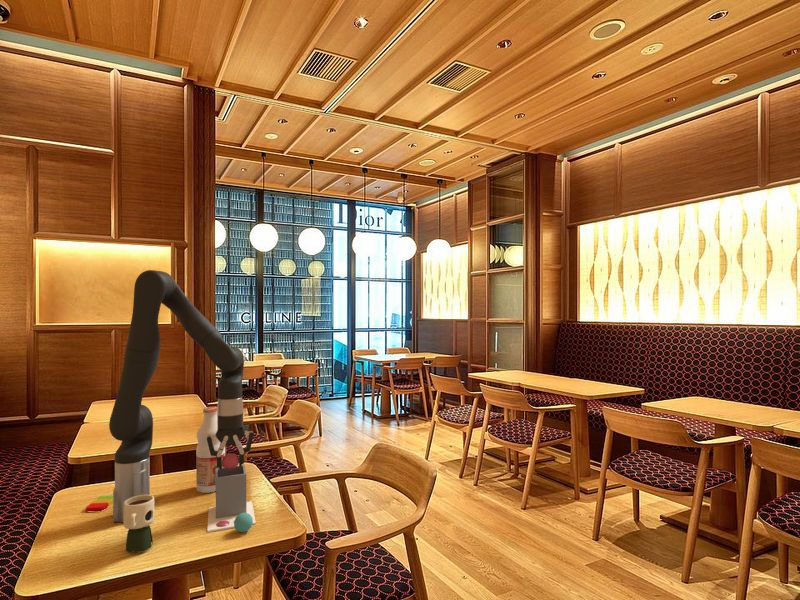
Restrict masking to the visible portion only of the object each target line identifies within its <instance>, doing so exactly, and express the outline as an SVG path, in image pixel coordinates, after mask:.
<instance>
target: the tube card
mask: <svg viewBox="0 0 800 600" xmlns="http://www.w3.org/2000/svg"><path fill="white" fill-rule="evenodd" d="M207 511H208V512H207V513H208V514H207V515H208V516H207V533H211V532H212V533H213V532H218V531H224V530H231V529H235V526H234V521H235V518H236V517H237V516H238V515H239V514H241V513H248V514H250V515H251V517H252V519H253V523H252V526H254V525H256V524H257V523H256V518H255V516H256V515H255V512H254V511H255V510H254V506H253V501H252V500H250V501H247V470H246V465H245V464H242V466H241V467H239V465H237V467H236V468H234V469H232V470H227V469H225V468H222V469H219V468H217V469H216V492H215V506H211V507H208V509H207Z"/></svg>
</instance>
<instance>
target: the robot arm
mask: <svg viewBox="0 0 800 600" xmlns="http://www.w3.org/2000/svg"><path fill="white" fill-rule="evenodd" d="M132 302H133V305H132V314H131V316H132V317H131V320H130V321H131V322H130V325H129V331H128V335H127V336H128V337H127V340H126V346H125V351H124V356H123V364H122V370H121V373H120V379H119V386H118V390H117V395H116V399H115V401H114V404H113V408H112V410H111V414H110V419H109V422H108V423H109V424H108V426H109V433H110V434H111V436H112V437H113V438H114V439H115V440H117V441H121V442H120V445H119V446H118V448H117V450H116V451H115V453H114V487H113V490H112V493H113V503H112V506H113V510H112V511H113V512H112V513H113V514H112V515H113V516H112V519H113V520H112V522H113V523H124V501H126V500H127V499H129V498H131V497H134V496H138V495H151V491H150V488H151V485H150V484H151V482H150V479H151V477H150V474H151V472H150V471H151V470H150V466H151V465H150V464H151V463H150V462H151V461H150V451H151V449H152V446H153V436H154V435H153V433H154V432H153V431H154V417H153V413H152V411H151V410H150V408H148V406H146V405H144V404H142V402H143V397H144V394H145V391H146V390H147V387H148V385H149V384H150V381H151V380H152V378H153V376H154V374H155V372H156V370H157V367H158V363H159V360H160V359H159V358H160V353H161V347H162V343H161V342H162V341H161V333H160V327H159V314H160V311H161V310H160V309H161V305H162V304H163V306H165V307H166V308H167V309H169V310H170V312H172V314H174V316H175V317H176V318H177V319H178V321H179V323H180V325H181V326H182V327H183V329H184V330H185V332H186V333H187V334H188V336H189V337H190V338H191V339H192V340H193V341H194V342H195V343H196V344H197V345H199V347H200V348H202V349H203V350H204V352H205V354H206V355H207V357H208V358H209V359H210V360H211V362H212V363H213V365H214V366H215V367H216V368H218V369H219V370H220V371H221V373H220V374H221V376H220V379H219V382H218V384H217V404H216V405H217V406H216V407H217V432H216V434H214V435H208V436H207V442H208V446H209V450H210V454H211V456H216V457H217V467H219V469H222V455H221V454H222V452H223V450H224V447H225V448H226V447H229V446H236V447H237V450H238V451H239V452H238V458H239V463H238V466H239V467H241V466H242V465H245V464H244V463H245V454H246V453H249V452H251V448H252V443H253V439H254V432H253V430H249V431H247V430H245V428H244V400H243V377H244V376H243V375H244V368H245V356H244V353H243V352H242V350H241V349H240V348H239V347H235V346H230V345H229V344H228V342H226V341H225V340H224V339H223V335H222V332H220V330H219V329H217V327H215V325H213V323H212V322H210V321H209V320H208V318H206V317H205V316H204V315H203V314H202V313H201V312H200V311H199V310H198V308H197V307H196V306H195V305H194V304H193V303H192V302H191V301H190V299H189V298H188V297H187V295H186V294H185V292H183V290H182V289H181V288H180V285H178V283H177V282H176V281H175V279H174V277H173V276H171V274H169V273H167V272H166V271H163V270H162V271H161V270H154V269H149V270H144V271H142V272H141V273H140V274H139V275H138V276H137V278H136V280H135V282H134V289H133V301H132ZM244 436H245V438H246V439H247V440H246V445H245V447H243V445H242V442H241V440H242V439H243V437H244ZM215 438H217V439H218V440H219V441H220V442H221V443H220V446H219V449H218V451H215V450H214V446H213V442H214V441H215Z"/></svg>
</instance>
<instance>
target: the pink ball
mask: <svg viewBox="0 0 800 600" xmlns="http://www.w3.org/2000/svg"><path fill="white" fill-rule="evenodd" d="M222 465H223V467H224V468H225V469H227V470H232V469H234V468H236V467H237V466H239V455H237V453H234V452H228V453H225V456H224V457H223V459H222Z"/></svg>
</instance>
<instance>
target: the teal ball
mask: <svg viewBox="0 0 800 600" xmlns="http://www.w3.org/2000/svg"><path fill="white" fill-rule="evenodd" d="M252 523H253V519H252V517H251V515H250V514H248V513H241V514H239V515H238V516H237V517H236V518H235V521H234V526H235V528H234V529H235V530H236V531H237V532H239V533H245V532H247V531H249V530H250V529H251V528H252V526H253V525H252Z"/></svg>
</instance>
